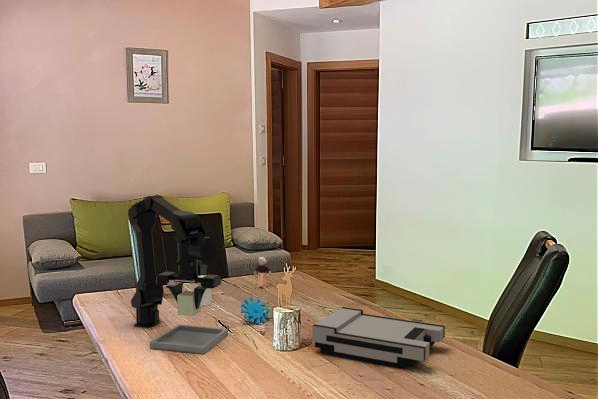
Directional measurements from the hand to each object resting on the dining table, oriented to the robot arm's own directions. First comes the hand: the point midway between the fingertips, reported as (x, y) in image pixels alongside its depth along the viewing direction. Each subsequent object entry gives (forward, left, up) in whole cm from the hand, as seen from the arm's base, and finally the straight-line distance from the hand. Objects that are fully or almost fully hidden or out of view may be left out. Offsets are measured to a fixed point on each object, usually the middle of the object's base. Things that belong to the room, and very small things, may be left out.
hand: (189, 308), depth 172 cm
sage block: (0, 0, -2) cm, 2 cm away
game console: (+55, +8, -11) cm, 57 cm away
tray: (0, 0, -10) cm, 10 cm away
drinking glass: (-14, +38, -11) cm, 42 cm away
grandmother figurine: (-1, +66, -11) cm, 67 cm away
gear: (+12, +24, -11) cm, 29 cm away
